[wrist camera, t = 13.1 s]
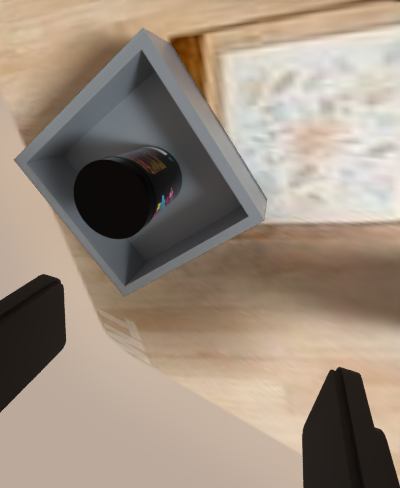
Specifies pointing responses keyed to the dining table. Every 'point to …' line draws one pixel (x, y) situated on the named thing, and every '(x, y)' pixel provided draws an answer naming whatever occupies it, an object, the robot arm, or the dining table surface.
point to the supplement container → (126, 190)
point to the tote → (141, 135)
